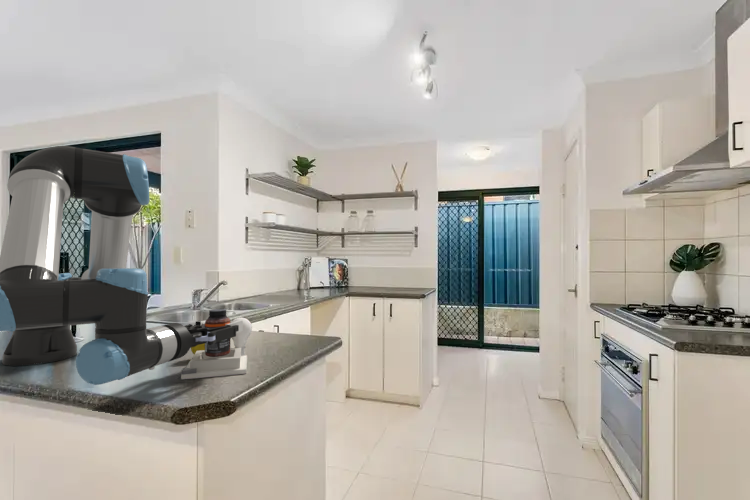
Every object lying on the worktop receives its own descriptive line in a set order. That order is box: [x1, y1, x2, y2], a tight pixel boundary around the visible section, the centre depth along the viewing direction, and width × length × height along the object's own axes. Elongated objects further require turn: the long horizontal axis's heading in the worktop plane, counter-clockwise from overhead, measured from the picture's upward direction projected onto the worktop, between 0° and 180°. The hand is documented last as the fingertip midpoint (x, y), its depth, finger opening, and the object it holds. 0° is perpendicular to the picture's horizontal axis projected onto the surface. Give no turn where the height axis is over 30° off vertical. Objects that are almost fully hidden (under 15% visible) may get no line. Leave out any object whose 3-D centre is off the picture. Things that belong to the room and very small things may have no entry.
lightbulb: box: [230, 317, 253, 356], centre depth 102 cm, size 6×6×11 cm
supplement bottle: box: [204, 308, 231, 357], centre depth 91 cm, size 6×6×11 cm
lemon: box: [190, 343, 205, 355], centre depth 100 cm, size 6×6×8 cm
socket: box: [180, 347, 248, 380], centre depth 91 cm, size 14×14×4 cm
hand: (230, 325), depth 97 cm, fingers closed on supplement bottle, 6 cm apart
